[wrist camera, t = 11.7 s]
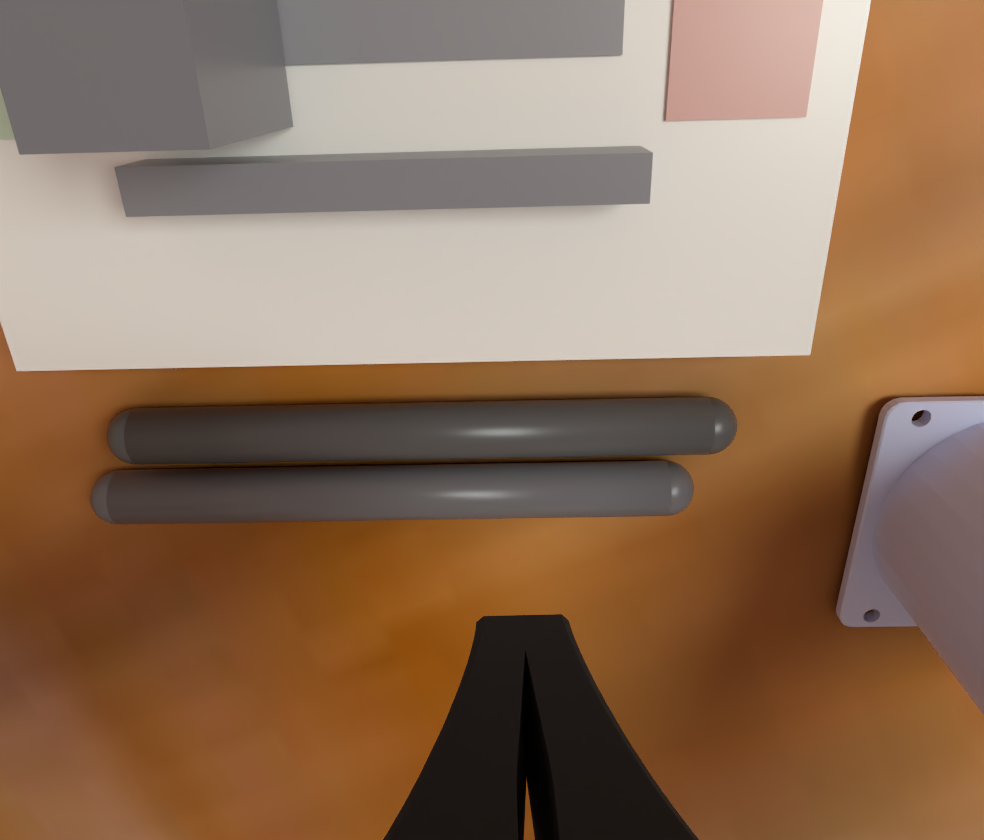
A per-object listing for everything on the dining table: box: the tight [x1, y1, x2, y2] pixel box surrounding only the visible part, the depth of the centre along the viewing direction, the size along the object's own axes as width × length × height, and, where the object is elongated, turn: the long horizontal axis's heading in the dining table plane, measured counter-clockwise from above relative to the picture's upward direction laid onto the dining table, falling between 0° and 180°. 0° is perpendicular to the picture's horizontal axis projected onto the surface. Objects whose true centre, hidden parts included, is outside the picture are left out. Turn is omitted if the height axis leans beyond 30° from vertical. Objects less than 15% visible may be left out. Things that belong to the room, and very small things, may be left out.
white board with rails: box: [0, 0, 871, 524], centre depth 16 cm, size 20×21×4 cm
